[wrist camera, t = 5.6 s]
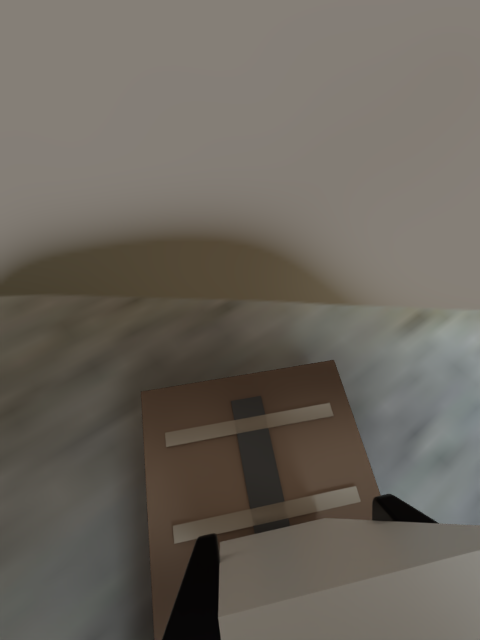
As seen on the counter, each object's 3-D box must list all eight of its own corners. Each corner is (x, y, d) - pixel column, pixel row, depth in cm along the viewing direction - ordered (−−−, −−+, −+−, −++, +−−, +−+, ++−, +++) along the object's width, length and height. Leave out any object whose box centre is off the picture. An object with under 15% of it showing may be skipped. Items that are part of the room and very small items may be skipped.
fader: (350, 610, 10) (776, 930, 2) (233, 641, 10) (287, 1169, 2) (325, 518, 11) (559, 529, 4) (220, 541, 11) (218, 618, 3)
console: (476, 883, 10) (555, 997, 7) (192, 998, 9) (181, 1173, 6) (319, 379, 17) (334, 359, 14) (152, 408, 16) (140, 390, 13)
